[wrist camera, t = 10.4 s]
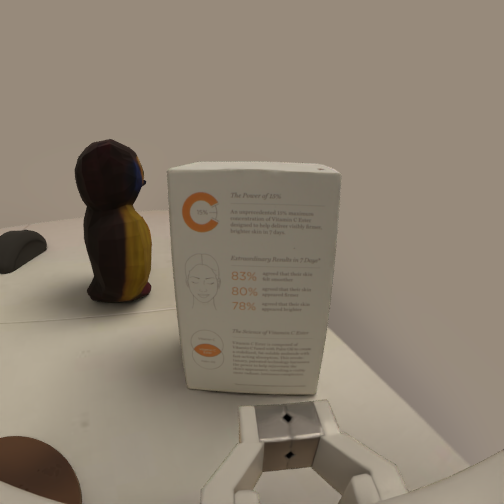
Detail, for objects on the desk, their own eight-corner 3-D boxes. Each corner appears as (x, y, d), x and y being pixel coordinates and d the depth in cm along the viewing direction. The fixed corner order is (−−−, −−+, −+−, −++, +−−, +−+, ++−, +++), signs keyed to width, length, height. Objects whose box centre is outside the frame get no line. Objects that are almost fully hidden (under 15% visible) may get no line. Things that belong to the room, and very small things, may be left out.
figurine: (170, 309, 28) (161, 134, 23) (95, 326, 24) (72, 140, 20) (142, 272, 36) (134, 139, 31) (84, 283, 32) (70, 145, 27)
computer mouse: (50, 247, 44) (47, 222, 43) (9, 274, 33) (3, 245, 32) (23, 246, 44) (19, 223, 43) (-18, 271, 33) (-24, 244, 32)
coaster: (112, 489, 11) (111, 486, 11) (21, 588, 4) (17, 587, 4) (18, 419, 13) (16, 416, 13) (-62, 485, 6) (-65, 481, 6)
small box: (308, 340, 24) (323, 162, 20) (316, 397, 18) (345, 171, 14) (203, 335, 24) (196, 159, 20) (183, 390, 18) (164, 167, 14)
